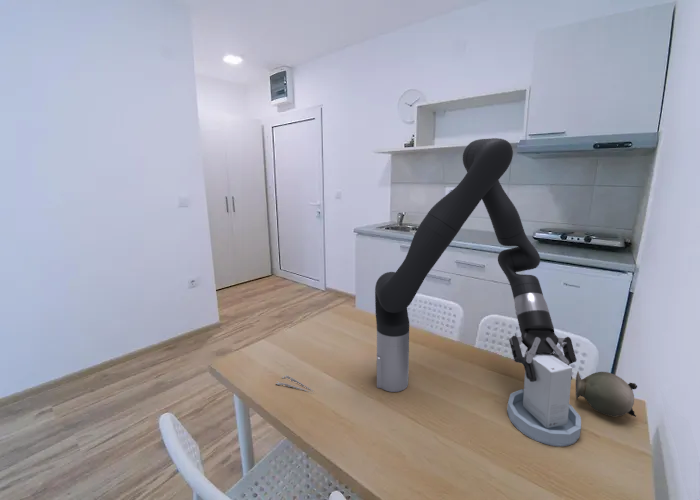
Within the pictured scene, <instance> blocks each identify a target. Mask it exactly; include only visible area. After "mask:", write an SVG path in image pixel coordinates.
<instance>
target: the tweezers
mask: <svg viewBox="0 0 700 500" xmlns="http://www.w3.org/2000/svg"><path fill="white" fill-rule="evenodd" d="M284 376H285V378H284ZM281 378H282V379H286V378H288V379H290V380H291V381H290V380H289V381H290V382H292V381H294V382H297V383H299V384H301V385H302V386H301V385H300V386H301V387H303V386H305V387H306V388H305V387H304V388H301V387H298V386H295V385H292V384H289V383H287V382H279V381H278V380H277V381H276V382H278V383H276V382H275V383H276V384H277V385H276V384H275V385H276V386H280V385H285V386H288V387H287V388H290V387H293V388H292V389H294V388H296V389H295V390H298V389H300V390H299V391H302V390H304V391H303V392H306V391H308V392H307V393H309V392H313V391H314V390H313V389H311V388H310V387H308V386H307V385H305V384H303V383H302V382H300V381H299V380H297V379H296V378H293V377H291V376H289V375H288V374H286V375H283V376H282V377H281ZM288 379H287V380H288ZM294 382H293V383H294ZM285 386H284V387H285ZM307 388H308V389H307ZM309 389H310V390H309ZM311 390H312V391H311Z"/></svg>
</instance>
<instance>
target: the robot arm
mask: <svg viewBox="0 0 700 500" xmlns="http://www.w3.org/2000/svg"><path fill="white" fill-rule="evenodd" d="M513 156H514V151H513V146H512V145H511V143H510V142H509V141H508V140H506V139H504V138H499V137H498V138H496V137H495V138H493V137H492V138H479V139H475V140H473V141H472V142H469V143H468V144H467V145H466V147H465V148H464V151H463V154H462V164H463V166H464V169H465V171H466V172H467V173H466V174H465V176H464V177H463V178H462V179H461V181H460V182H459V183H458V184H457V186H455V187H454V188H453V189H452V190H450V192H448V193H447V194H446V195H445V196H444V197H442V198H440V200H439V201H437V202H436V204H434V205H433V206H432V207H431V208H430V209H429V211H428V212H427V213H426V215H425V216H424V218H423V219H422V220H421V222H420V224H419V226H418V228H417V229H416V231H415V232H414V235H413V237H412V240H411V242H410V246H409V248H408V252H407V253H406V256H405V258H404V260H403V261H402V263H401V265H400V266H399V267H398V268H397V270H396V271H387V272H384V273H383V274H381V275H380V276H379V277H378V279H377V280H376V283H375V287H374V288H375V289H374V295H375V296H374V298H375V299H374V300H375V301H374V303H375V305H374V306H375V308H374V309H375V321H376V323H375V324H376V388H377V389H381V390H384V391H387V392H389V393H390V392H392V393H396V392H397V393H398V392H401V391H404V390H406V389H407V387H408V385H409V371H410V370H409V364H410V363H409V361H410V359H409V357H410V355H409V353H410V319H409V314H408V313H409V312H408V307H409V306H410V304H411V303H412V302H413V300H414V298H415V297H416V295H417V293H418V291H419V289H420V288H421V286H422V285H423V282H424V281H425V280H426V277H427V276H428V274H429V273H430V271H431V270H433V268H434V266H435V265H436V263H437V262H438V261H439V259H440V258H441V257H442V255H443V254H444V252H445V251H446V250H447V248H449V246H450V244H452V241H454V239H455V237H456V236H457V234H458V233H459V232H460V230H461V229H462V227H463V226H464V224H465V223H466V222H467V220H468V219H469V217H470V216H471V215H472V213H473V212H474V210H475V209H476V207H478V205H479V203H480V202H481V201H482V203H483V204H484V207H485V209H486V212H487V214H488V217H489V219H490V221H491V225H492V228H493V230H494V234H495V237H496V239H497V241H498V243H499V244H500V245H501V246H505V247H511V248H507V249H504V250H501V251H500V252H499V253H498V255H497V262H498V263H497V264H498V265H499V267H500V268H501V270H502V272H503V274H504V275H505V277H506V279H507V281H508V283H509V285H510V289H511V291H512V296H513V302H514V310H515V315H516V318H517V322H518V327H519V332H520V334H521V335H520V336H517V335H512V336H511V337H510V338H508V341H509V345H510V349H511V353H512V357H513V361H514V362H515V363H519V364H522V365H523V368H524V374H525V373H526V377H527V378H528V379H529V380H530V382H534V381H536V375H535V371H534V367H533V364H531V362H532V359H533V357H534V355H535V354H541V353H544V354H551V355H553V356H554V357H556V358H557V359H559V360H561V361H562V362H564V363H565V364H567V365H569V366H570V365H572V364H574V363H576V362H577V357H576V354H575V350H574V346H573V342H572V339H571V337H569V336H567V337H558V336H557V335H556V333H555V328H554V324H553V321H552V316H551V315H550V309H549V307H548V304H547V301H546V299H545V297H544V294H543V291H542V287H541V284H540V279H539V278H538V277H537V276H535V275H533V274H522V273H521V274H520V272H525V271H531V270H534V269H536V268H538V266H539V265H540V263H541V256H540V253H539V251H538V250H537V248H535V246H534V245H533V244H532V242H531V241H530V239H529V238H528V236H527V234H526V232H525V229H524V225H523V223H522V222H523V221H522V219H521V216H520V214H519V212H518V209H517V208H516V206H515V204H514V203H513V202H512V200H511V199H510V197H509V196H508V194H507V193H506V192H505V190H504V188H503V187H502V185H501V182H500V179H501V178H502V176H504V174H505V173H506V172H507V170H508V168H509V167H510V166H511V163H512V159H513ZM521 344H523V345H524V346H525V347H526V350H525V352H524V356H523V352H522V349H521V346H520V345H521ZM558 344H559V347H561V349H562V350H561V349H560V348H559V347H558V346H557V345H558ZM526 354H527V357H526ZM572 380H573V375H572V376H571V381H572Z"/></svg>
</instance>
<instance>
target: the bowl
mask: <svg viewBox="0 0 700 500" xmlns="http://www.w3.org/2000/svg"><path fill="white" fill-rule="evenodd" d="M523 396H524V388H523V389H519V390H516V391H514V392H511V393H510V394H509V398H508V402H507V408H506V409H507V410H506V412H507V416H508V418H509V421H510V422H511V423H512V425H513V426H514V427H515V428H516V429H517V430H518V431H519V432H521V433H522V434H523V435H524V436H527V438H529V439H532V440H533V441H536V442H538V443H541V444H544V445H547V446H552V447H568V446H571V445H573V444H575V443H577V441H578V440H579V438H580V437H581V430H582V417H581V416H580V414H579V413H578V411H577V410H576V409H575V408H574V406H573V405H572V404H570V403H569V412H568V423H567V425H563V426H556V427H551V428H546V427H545V426H544V425H543V424H542V423H541V422H540V421H539V420H537V419H536V418H535V417H534V416H533V415H532V414H531V413H530V412H529V411H528V410H527V409H526V408H525V407H524V406H523Z"/></svg>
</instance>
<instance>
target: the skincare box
mask: <svg viewBox="0 0 700 500" xmlns="http://www.w3.org/2000/svg"><path fill="white" fill-rule="evenodd" d="M526 357H527V354H526ZM531 364H533V367H534V371H535V375H536V381H534V382H530V380H529V379H528V378H527V377H526V373H525V372H524V383H523V389H524V396H523V406H524V407H525V408H526V409H527V410H528V411H529V412H530V413H531V414H532V415H533V416H534V417H535V418H536V419H537V420H539V421H540V422H541V423H542V424H543V425H544V426H545V427H546V428H551V427H556V426H563V425H567V423H568V412H569V404H570V401H571V399H570V398H571V385H572V380H571V376H572V377H573V375H572V374H573V367H572V366H570V364H569V365H567V364H565V363H564V362H562V361H561V360H559V359H557V358H556V357H554V356H553V355H551V354H544V353H541V354H535V355H534V357H533V359H532V362H531Z"/></svg>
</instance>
